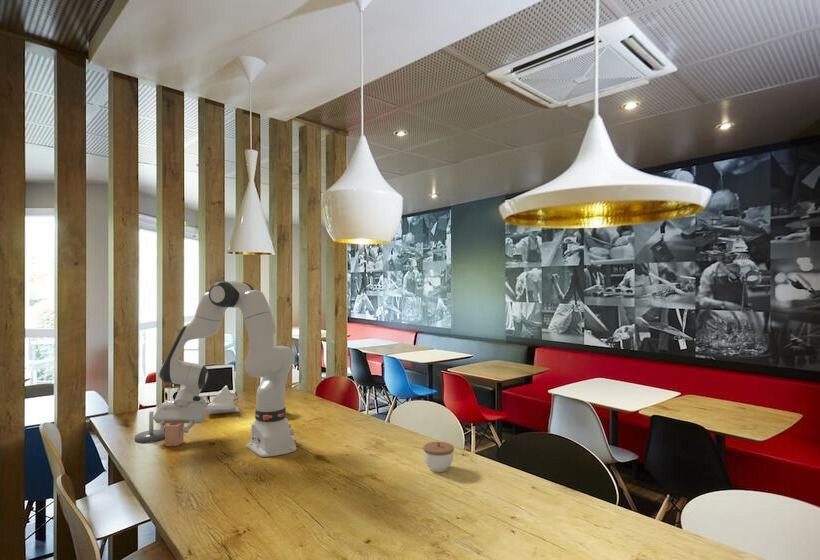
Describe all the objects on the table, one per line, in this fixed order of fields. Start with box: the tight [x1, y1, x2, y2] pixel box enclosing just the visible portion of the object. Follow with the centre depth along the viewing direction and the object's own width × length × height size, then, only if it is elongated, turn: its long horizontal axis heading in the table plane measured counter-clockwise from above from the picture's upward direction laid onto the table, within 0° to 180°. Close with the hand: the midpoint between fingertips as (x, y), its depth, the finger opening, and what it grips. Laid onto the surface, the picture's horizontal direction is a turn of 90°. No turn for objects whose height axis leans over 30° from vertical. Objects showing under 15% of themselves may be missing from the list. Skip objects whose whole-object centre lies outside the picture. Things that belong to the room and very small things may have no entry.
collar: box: [164, 422, 185, 447], centre depth 185 cm, size 5×5×8 cm
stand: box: [134, 410, 165, 444], centre depth 192 cm, size 12×12×11 cm
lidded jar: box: [423, 441, 455, 473], centre depth 160 cm, size 11×11×9 cm
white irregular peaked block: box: [206, 385, 240, 415], centre depth 231 cm, size 12×15×14 cm
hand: (173, 432), depth 185 cm, fingers open, 8 cm apart
